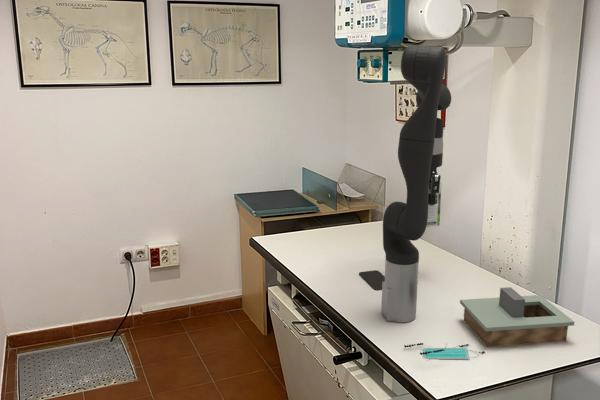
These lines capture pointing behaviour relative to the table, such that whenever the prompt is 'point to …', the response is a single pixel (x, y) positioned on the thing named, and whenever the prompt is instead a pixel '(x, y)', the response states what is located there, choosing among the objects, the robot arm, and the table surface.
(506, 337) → the wooden frame
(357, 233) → the table surface
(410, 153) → the robot arm
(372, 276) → the phone
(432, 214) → the syrup box
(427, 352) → the surgical mask
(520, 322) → the lid
